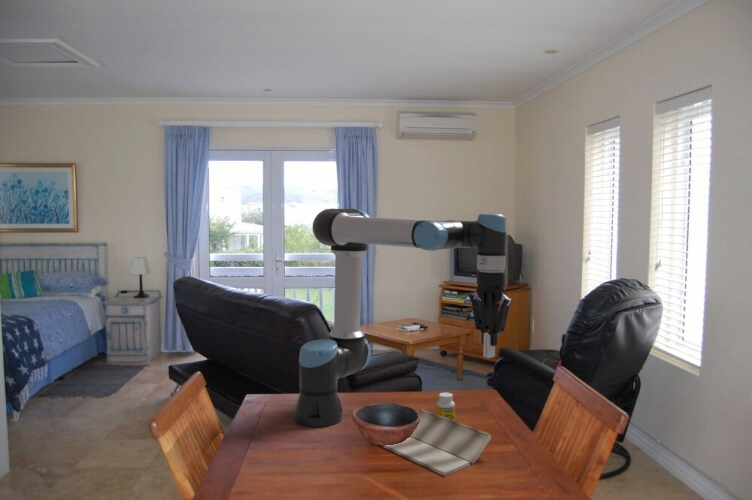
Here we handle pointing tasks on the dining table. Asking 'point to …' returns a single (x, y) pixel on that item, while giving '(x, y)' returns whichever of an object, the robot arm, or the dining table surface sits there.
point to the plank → (451, 436)
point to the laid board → (428, 456)
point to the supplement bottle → (446, 406)
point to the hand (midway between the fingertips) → (489, 356)
